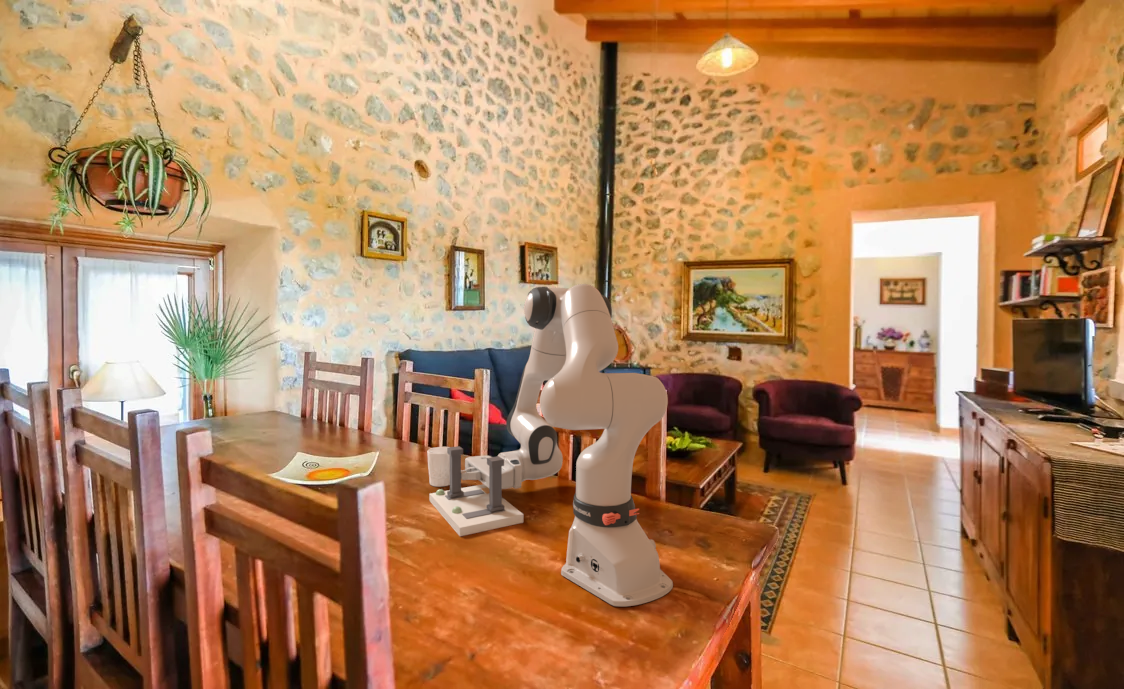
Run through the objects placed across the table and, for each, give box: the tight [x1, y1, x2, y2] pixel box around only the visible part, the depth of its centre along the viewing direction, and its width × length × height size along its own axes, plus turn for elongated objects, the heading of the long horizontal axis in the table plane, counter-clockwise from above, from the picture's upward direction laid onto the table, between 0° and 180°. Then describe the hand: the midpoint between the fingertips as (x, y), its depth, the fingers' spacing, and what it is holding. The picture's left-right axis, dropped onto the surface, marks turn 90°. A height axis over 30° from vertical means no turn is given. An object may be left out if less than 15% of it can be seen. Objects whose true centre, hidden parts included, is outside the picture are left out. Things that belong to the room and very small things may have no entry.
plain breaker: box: [487, 455, 505, 512], centre depth 126 cm, size 3×4×12 cm
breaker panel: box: [428, 483, 524, 537], centre depth 131 cm, size 25×16×3 cm, turn 30°
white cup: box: [426, 446, 450, 488], centre depth 152 cm, size 8×8×10 cm
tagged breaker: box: [446, 445, 464, 498], centre depth 136 cm, size 3×4×12 cm
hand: (459, 475), depth 136 cm, fingers closed, pressing on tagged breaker
